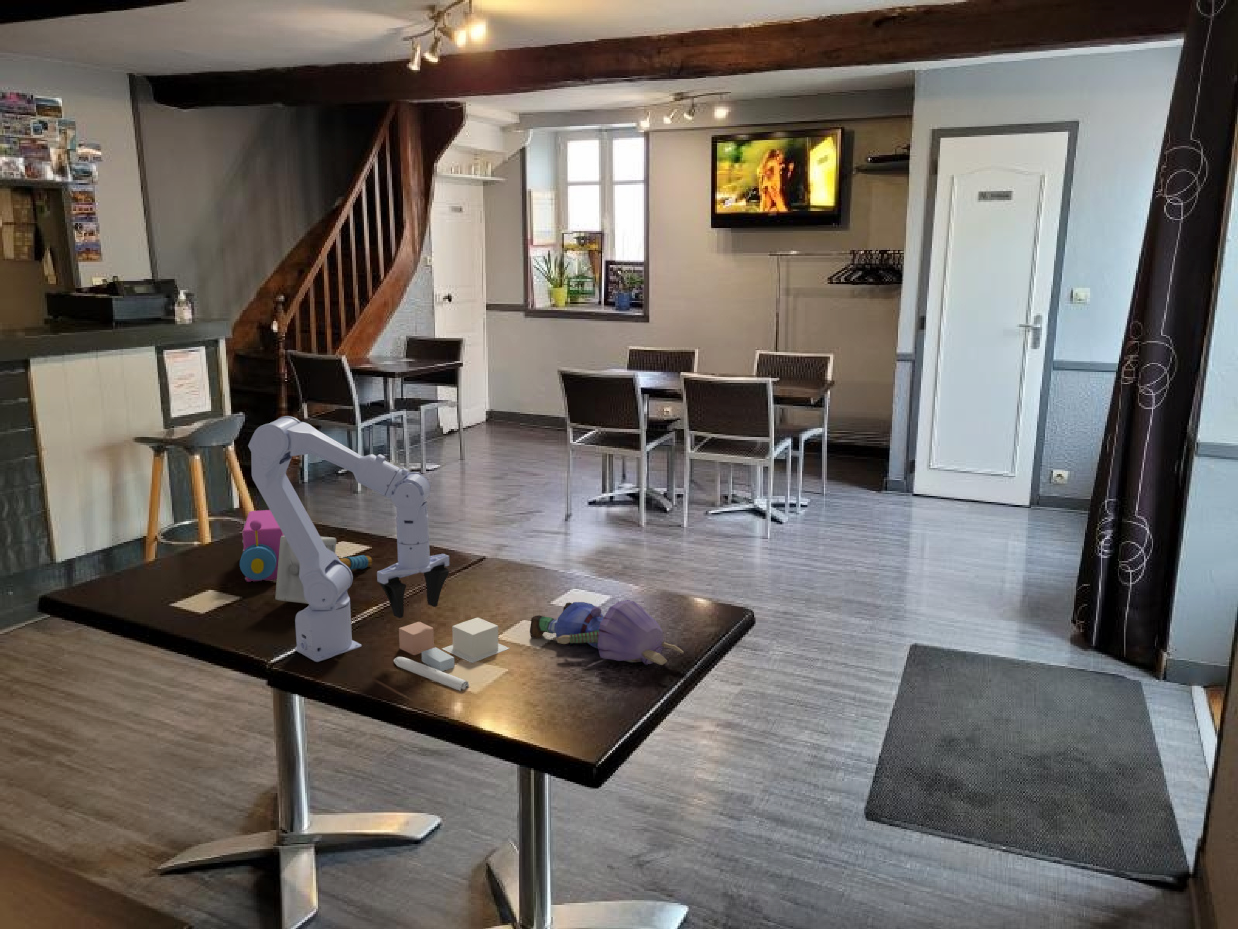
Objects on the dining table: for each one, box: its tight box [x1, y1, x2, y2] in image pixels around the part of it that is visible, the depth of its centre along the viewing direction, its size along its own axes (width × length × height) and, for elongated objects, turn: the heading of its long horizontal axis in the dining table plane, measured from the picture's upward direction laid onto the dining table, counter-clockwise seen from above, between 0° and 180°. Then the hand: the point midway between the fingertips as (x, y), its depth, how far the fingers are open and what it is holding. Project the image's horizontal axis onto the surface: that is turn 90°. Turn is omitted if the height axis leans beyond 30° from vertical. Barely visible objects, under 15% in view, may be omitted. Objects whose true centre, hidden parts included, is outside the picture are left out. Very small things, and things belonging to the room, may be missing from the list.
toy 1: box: [239, 509, 284, 583], centre depth 213 cm, size 28×9×15 cm, turn 17°
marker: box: [393, 656, 470, 692], centre depth 160 cm, size 18×2×2 cm, turn 54°
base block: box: [451, 617, 499, 658], centre depth 170 cm, size 6×6×4 cm
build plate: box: [441, 642, 511, 664], centre depth 171 cm, size 9×9×1 cm
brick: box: [421, 646, 455, 672], centre depth 164 cm, size 6×3×2 cm, turn 44°
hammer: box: [275, 535, 373, 605], centre depth 203 cm, size 8×13×30 cm
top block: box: [398, 621, 435, 656], centre depth 170 cm, size 4×4×4 cm
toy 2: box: [529, 599, 684, 666], centre depth 171 cm, size 18×11×30 cm
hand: (415, 610), depth 169 cm, fingers open, 7 cm apart
